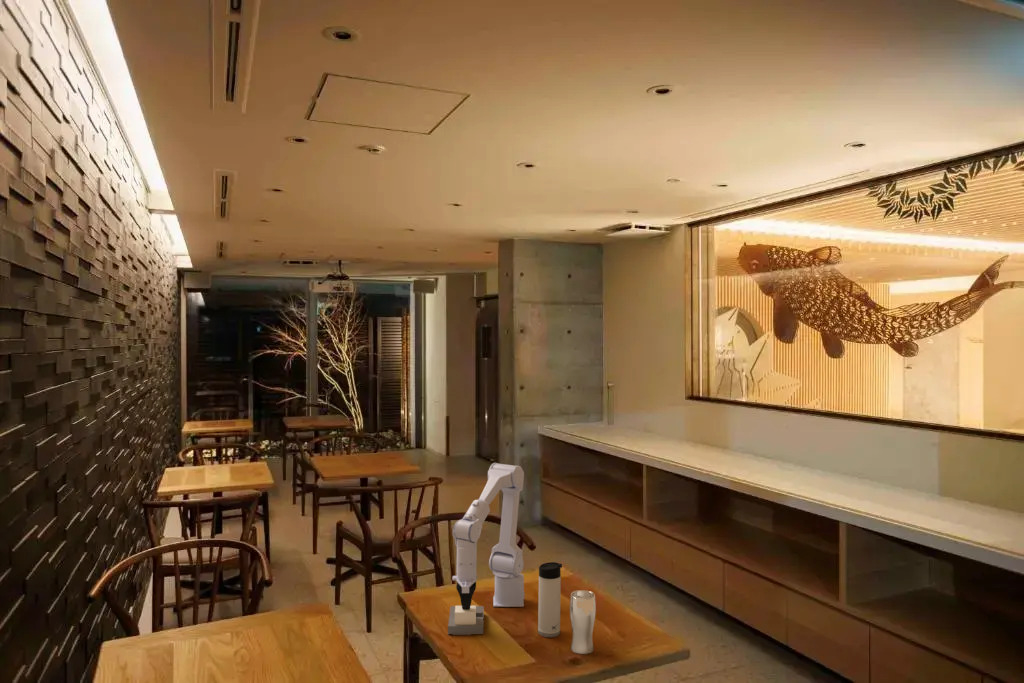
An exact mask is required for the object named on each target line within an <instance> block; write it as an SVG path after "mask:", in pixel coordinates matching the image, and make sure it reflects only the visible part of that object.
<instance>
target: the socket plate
mask: <svg viewBox="0 0 1024 683" xmlns="http://www.w3.org/2000/svg"><path fill="white" fill-rule="evenodd" d="M455 606H456V605H450V608H449V617H448V624H447V635H448V636H450V635H449V634H453V635H452V636H472V635H471V634H483V635H484V620H483V619H484V614H485V612H484V610H485V608H484V605H475V606H476V613H483V617H476V624H470V625H455Z"/></svg>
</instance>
